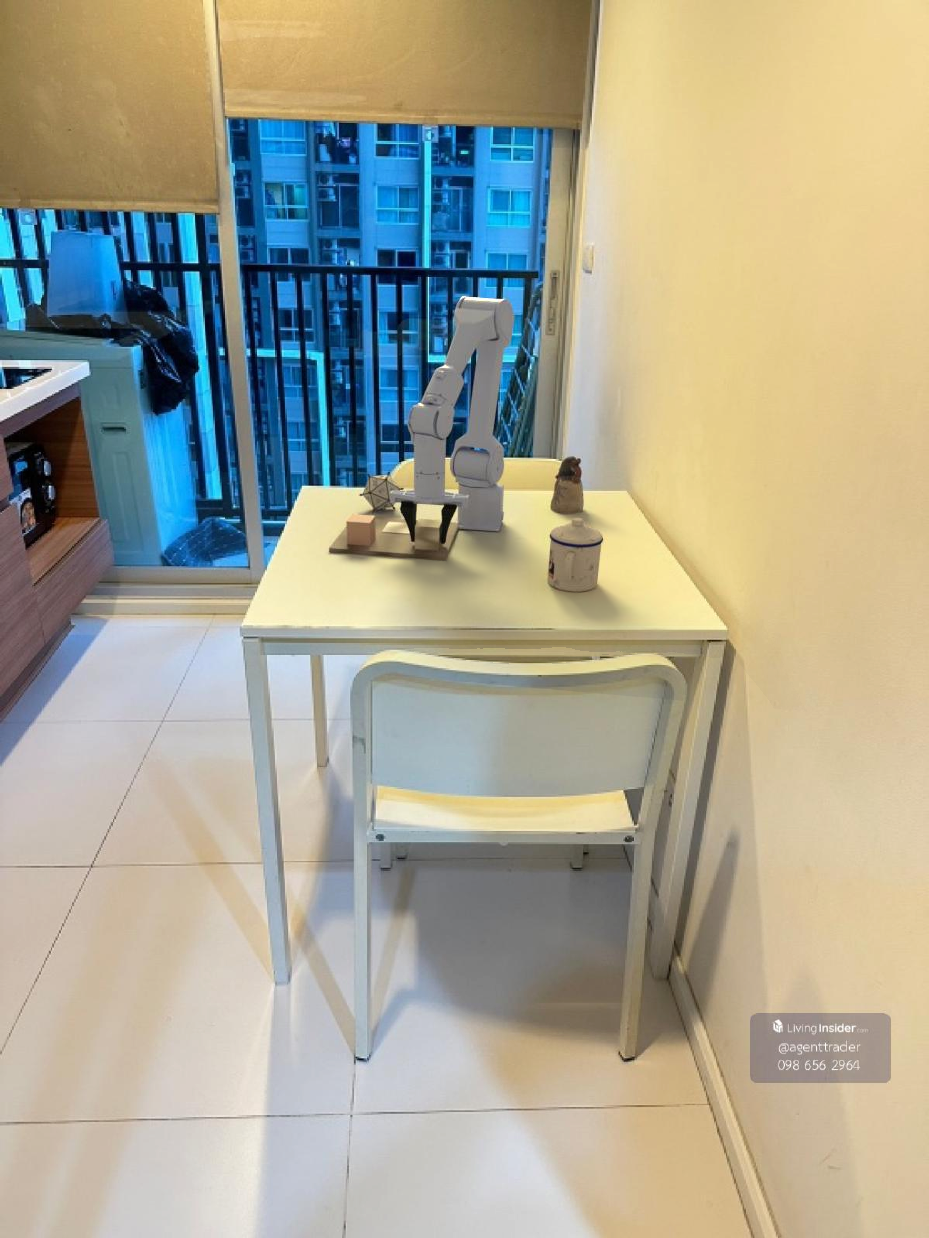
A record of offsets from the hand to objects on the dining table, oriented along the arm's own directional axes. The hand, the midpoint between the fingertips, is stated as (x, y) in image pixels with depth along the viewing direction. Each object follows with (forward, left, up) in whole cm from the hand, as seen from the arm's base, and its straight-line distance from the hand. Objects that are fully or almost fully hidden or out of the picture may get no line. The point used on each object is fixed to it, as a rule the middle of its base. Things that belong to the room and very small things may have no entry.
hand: (428, 541), depth 157 cm
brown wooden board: (+7, -5, -2) cm, 9 cm away
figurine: (-26, -32, -2) cm, 41 cm away
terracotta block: (+13, 0, -1) cm, 13 cm away
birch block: (0, 0, -1) cm, 1 cm away
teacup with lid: (-27, +13, -2) cm, 30 cm away
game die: (+14, -23, -2) cm, 27 cm away
